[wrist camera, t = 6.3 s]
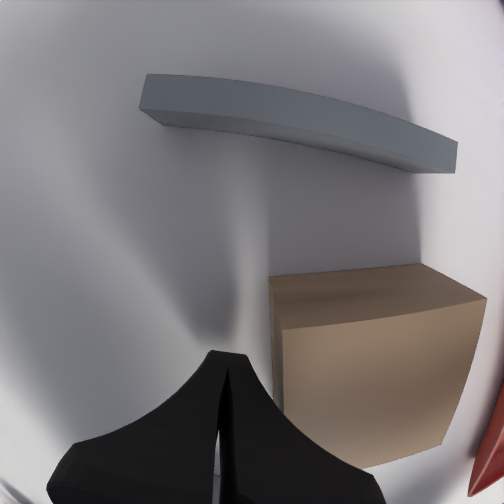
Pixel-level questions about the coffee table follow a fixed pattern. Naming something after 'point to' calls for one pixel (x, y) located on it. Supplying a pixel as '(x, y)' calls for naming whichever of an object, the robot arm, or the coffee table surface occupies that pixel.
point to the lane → (295, 125)
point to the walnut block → (372, 357)
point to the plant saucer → (490, 452)
